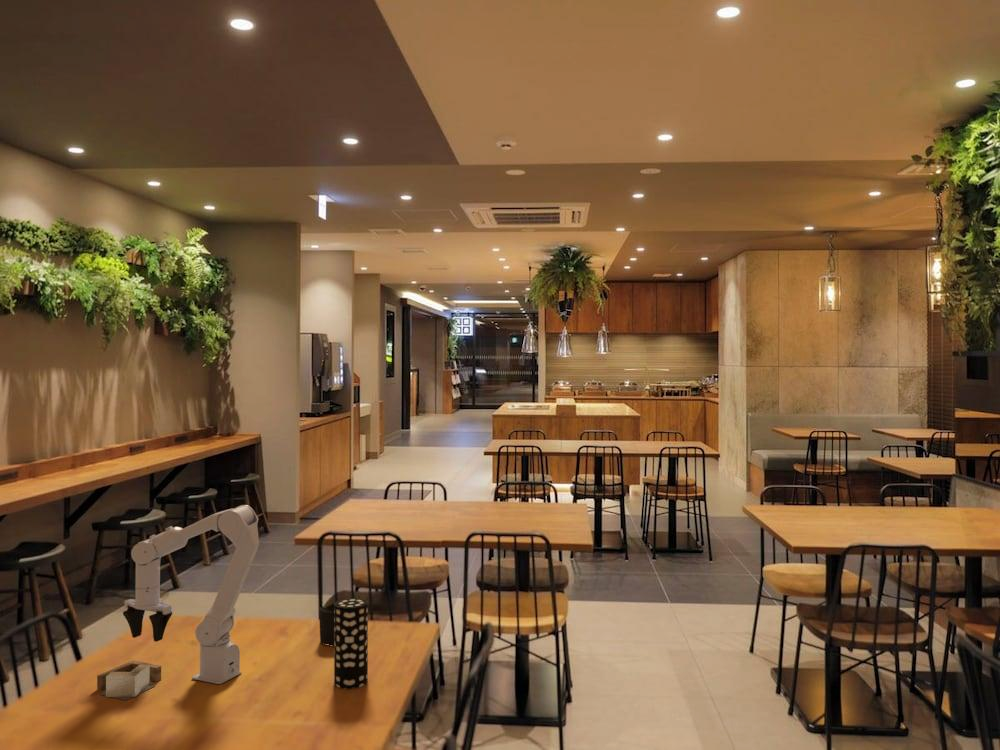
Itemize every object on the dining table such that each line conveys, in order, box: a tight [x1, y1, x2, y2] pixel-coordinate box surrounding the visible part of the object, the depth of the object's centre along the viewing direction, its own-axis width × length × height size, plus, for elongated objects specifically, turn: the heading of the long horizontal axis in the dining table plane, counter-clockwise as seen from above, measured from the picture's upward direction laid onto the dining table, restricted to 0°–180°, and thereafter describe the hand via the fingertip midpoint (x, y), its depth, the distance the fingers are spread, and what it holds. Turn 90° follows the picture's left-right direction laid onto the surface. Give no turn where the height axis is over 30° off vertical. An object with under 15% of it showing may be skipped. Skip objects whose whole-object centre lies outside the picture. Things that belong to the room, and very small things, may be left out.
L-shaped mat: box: [99, 684, 156, 701], centre depth 176 cm, size 8×8×1 cm
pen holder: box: [318, 602, 335, 645], centre depth 210 cm, size 9×9×10 cm
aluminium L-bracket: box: [105, 665, 150, 698], centre depth 175 cm, size 7×7×5 cm
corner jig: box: [96, 660, 162, 691], centre depth 179 cm, size 10×10×4 cm
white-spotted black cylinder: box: [333, 597, 369, 690], centre depth 181 cm, size 8×8×20 cm
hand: (147, 638), depth 185 cm, fingers open, 7 cm apart
